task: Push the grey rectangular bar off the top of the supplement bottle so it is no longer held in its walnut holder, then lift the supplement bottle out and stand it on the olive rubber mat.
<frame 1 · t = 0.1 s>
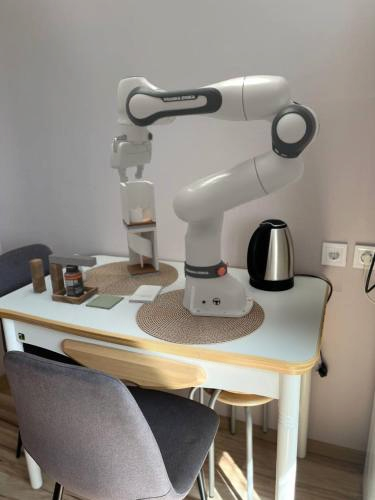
hand: (131, 180, 125), 39 cm above the table, tool pointing down, fingers open, 8 cm apart
flask: (77, 281, 152), on the table
mat: (105, 302, 131), on the table
external hard drive: (146, 297, 136), on the table
grey rectangular bar: (72, 259, 133), point 13 cm above the table, slide at 0.0 cm
supplement bottle: (76, 297, 137), resting in holder
candle lantern: (142, 272, 157), on the table
holder: (76, 296, 137), on the table
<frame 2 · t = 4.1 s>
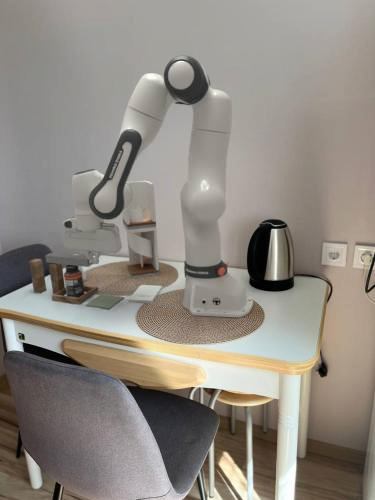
hand: (94, 263, 130), 13 cm above the table, tool pointing down, fingers closed
grey rectangular bar: (69, 259, 133), point 13 cm above the table, slide at 1.4 cm, touching gripper
everything else where it was.
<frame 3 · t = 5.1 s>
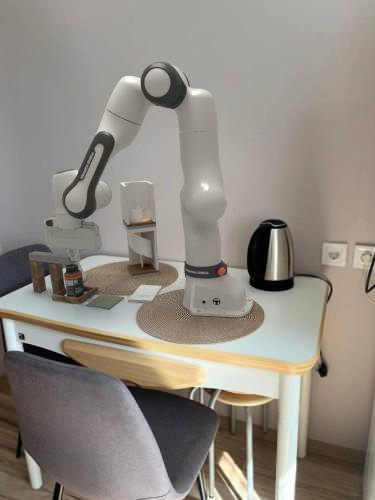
hand: (75, 261, 132), 13 cm above the table, tool pointing down, fingers closed
grey rectangular bar: (51, 257, 136), point 13 cm above the table, slide at 8.7 cm, touching gripper
everything else where it was.
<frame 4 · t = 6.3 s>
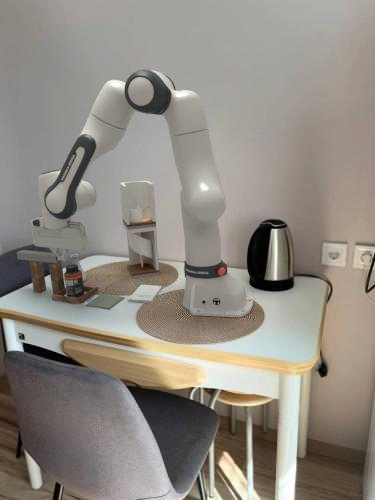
hand: (62, 260, 134), 13 cm above the table, tool pointing down, fingers closed
grey rectangular bar: (39, 256, 138), point 13 cm above the table, slide at 14.0 cm, touching gripper
everything else where it was.
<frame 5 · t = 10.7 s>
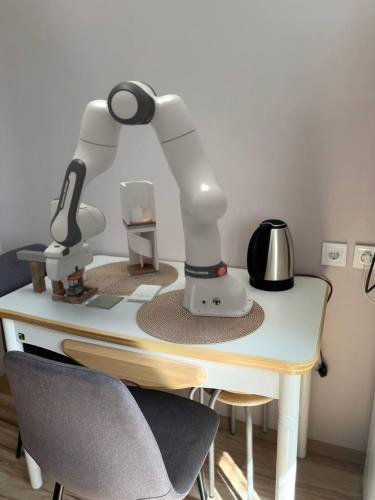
hand: (74, 283, 135), 5 cm above the table, tool pointing down, fingers closed on supplement bottle, 6 cm apart
grey rectangular bar: (39, 256, 138), point 13 cm above the table, slide at 14.1 cm
supplement bottle: (76, 297, 137), resting in holder, touching gripper
everything else where it was.
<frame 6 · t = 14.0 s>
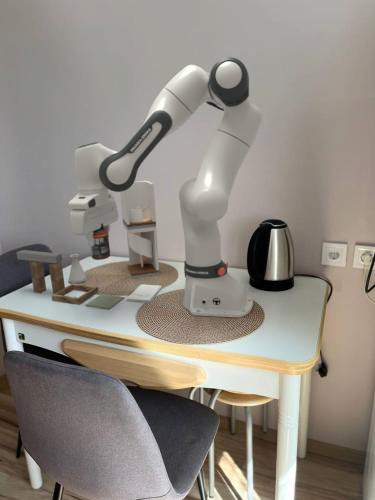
hand: (99, 241, 125), 21 cm above the table, tool pointing down, fingers closed on supplement bottle, 6 cm apart
supplement bottle: (101, 258, 127), point 15 cm above the table, touching gripper
everything else where it was.
when the fingers open (7 cm above the table, at t = 17.2 s): supplement bottle stays where it is, resting on mat.
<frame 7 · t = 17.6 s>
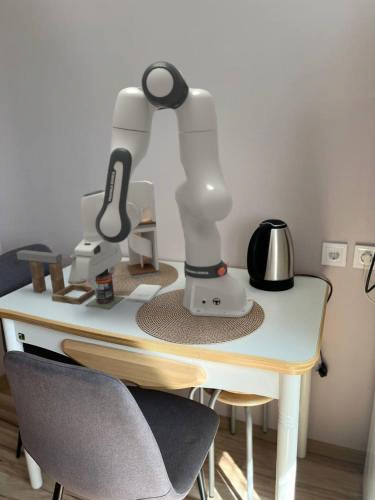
hand: (103, 283, 129), 7 cm above the table, tool pointing down, fingers open, 8 cm apart
supplement bottle: (105, 301, 131), resting on mat
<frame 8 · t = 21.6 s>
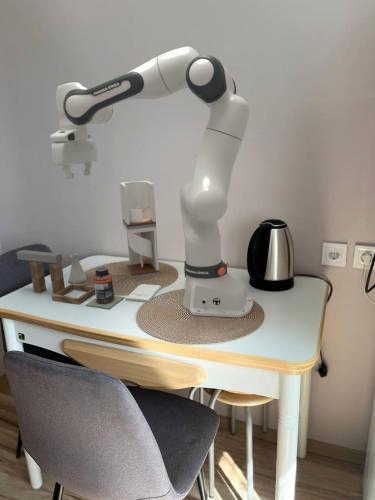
hand: (79, 177, 137), 39 cm above the table, tool pointing down, fingers open, 8 cm apart
at the end: grey rectangular bar slide at 14.1 cm; supplement bottle 0.1 cm off-centre on the mat, point 0.3 cm above the mat's base; supplement bottle tilted 0° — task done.
